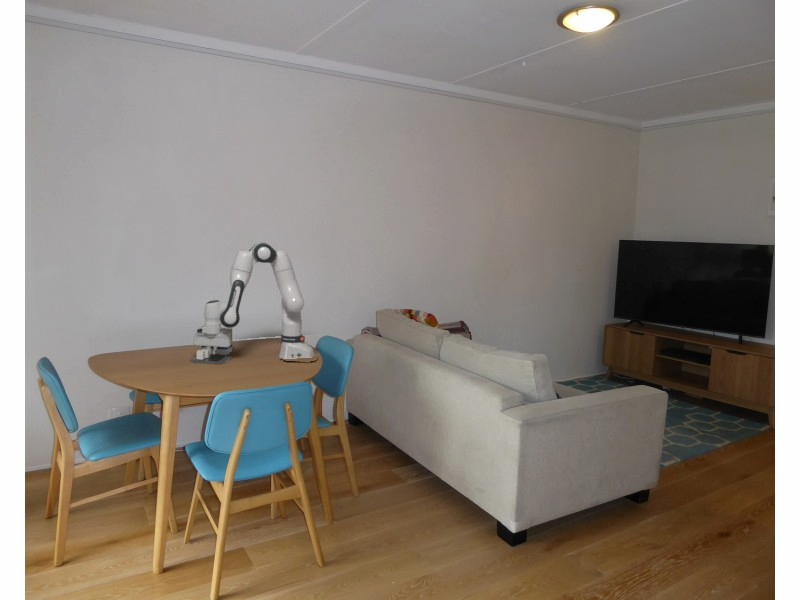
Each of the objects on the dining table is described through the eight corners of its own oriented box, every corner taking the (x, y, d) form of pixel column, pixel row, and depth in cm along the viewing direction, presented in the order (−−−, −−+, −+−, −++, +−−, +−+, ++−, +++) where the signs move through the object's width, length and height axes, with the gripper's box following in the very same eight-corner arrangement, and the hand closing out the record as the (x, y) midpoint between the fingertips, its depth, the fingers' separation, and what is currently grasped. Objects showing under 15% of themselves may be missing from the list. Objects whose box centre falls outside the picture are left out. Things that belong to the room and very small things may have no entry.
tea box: (232, 352, 330) (232, 327, 328) (225, 355, 320) (225, 330, 318) (208, 350, 331) (208, 325, 330) (200, 353, 321) (201, 328, 320)
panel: (231, 358, 313) (231, 356, 313) (222, 364, 299) (222, 361, 299) (200, 356, 314) (200, 354, 314) (189, 362, 300) (189, 359, 300)
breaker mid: (209, 356, 308) (210, 348, 307) (207, 357, 305) (207, 349, 304) (203, 356, 308) (203, 348, 308) (201, 357, 305) (201, 349, 305)
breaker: (205, 358, 304) (205, 350, 303) (202, 359, 301) (202, 351, 300) (198, 357, 304) (198, 349, 303) (196, 359, 301) (196, 351, 300)
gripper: (233, 329, 307) (232, 354, 309) (197, 327, 308) (196, 351, 310) (229, 331, 301) (228, 356, 302) (192, 329, 302) (192, 354, 303)
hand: (212, 354), depth 306 cm, fingers closed
